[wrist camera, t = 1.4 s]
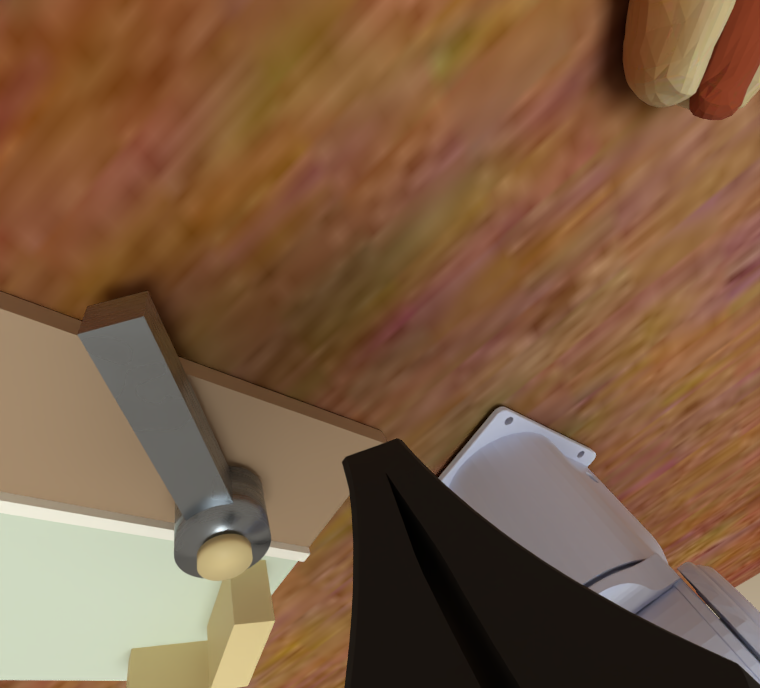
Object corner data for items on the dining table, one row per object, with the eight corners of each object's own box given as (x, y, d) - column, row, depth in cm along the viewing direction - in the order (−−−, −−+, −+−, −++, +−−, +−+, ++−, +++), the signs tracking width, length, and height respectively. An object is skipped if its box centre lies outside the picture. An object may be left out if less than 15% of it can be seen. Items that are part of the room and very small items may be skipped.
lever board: (381, 431, 24) (417, 501, 20) (204, 663, 29) (206, 755, 25) (-1, 290, 16) (-59, 368, 12) (-164, 653, 20) (-242, 790, 17)
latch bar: (272, 508, 22) (281, 556, 20) (192, 537, 22) (193, 590, 20) (176, 279, 16) (175, 315, 14) (58, 310, 15) (38, 352, 13)
